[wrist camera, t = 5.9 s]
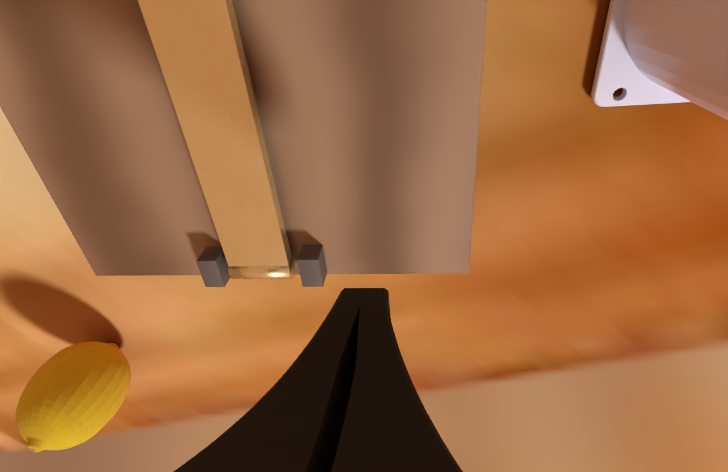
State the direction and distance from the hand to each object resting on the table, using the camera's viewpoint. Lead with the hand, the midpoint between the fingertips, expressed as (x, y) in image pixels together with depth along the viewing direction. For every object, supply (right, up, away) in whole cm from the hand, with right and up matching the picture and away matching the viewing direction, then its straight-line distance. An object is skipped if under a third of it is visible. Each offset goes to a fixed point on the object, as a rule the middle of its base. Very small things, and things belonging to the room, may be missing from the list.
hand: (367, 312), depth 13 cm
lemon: (-19, -6, +18) cm, 27 cm away
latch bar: (-6, +6, +5) cm, 9 cm away
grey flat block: (-5, +8, +7) cm, 12 cm away
